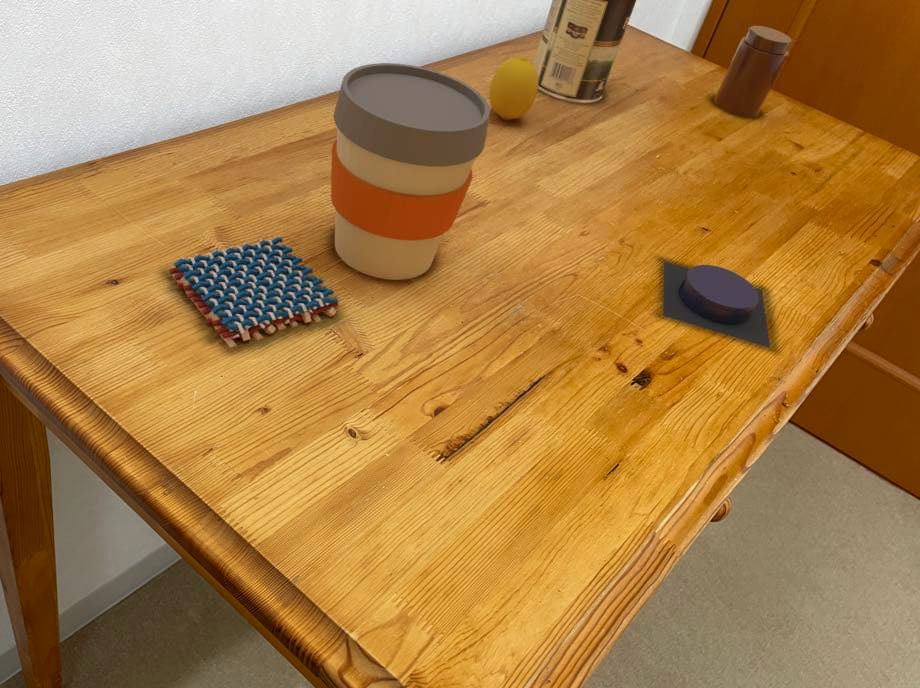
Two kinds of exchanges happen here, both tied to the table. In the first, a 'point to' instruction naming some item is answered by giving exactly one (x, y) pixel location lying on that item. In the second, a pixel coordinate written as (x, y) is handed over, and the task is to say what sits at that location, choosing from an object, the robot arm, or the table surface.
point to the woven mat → (253, 289)
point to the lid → (718, 294)
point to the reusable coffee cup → (401, 164)
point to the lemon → (514, 88)
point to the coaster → (678, 310)
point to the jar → (753, 71)
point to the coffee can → (580, 47)
